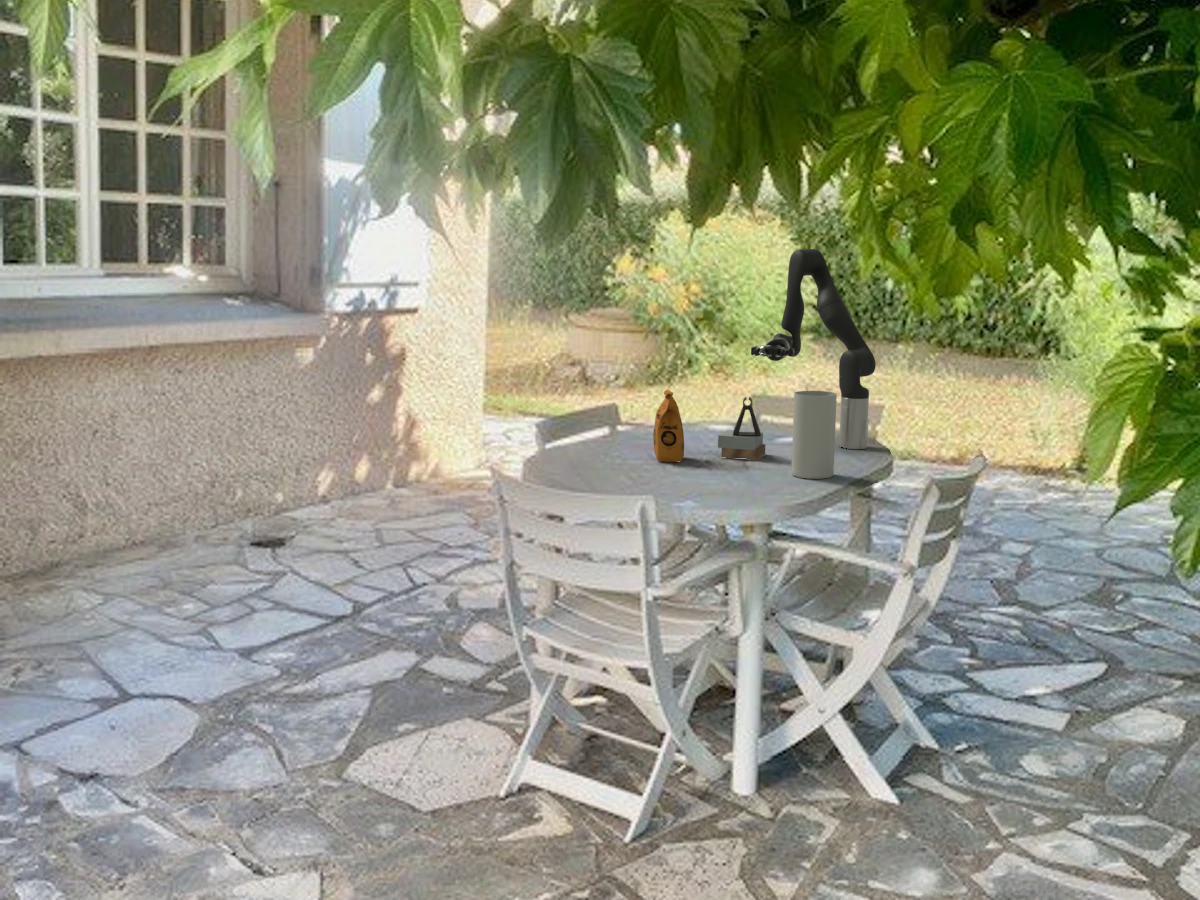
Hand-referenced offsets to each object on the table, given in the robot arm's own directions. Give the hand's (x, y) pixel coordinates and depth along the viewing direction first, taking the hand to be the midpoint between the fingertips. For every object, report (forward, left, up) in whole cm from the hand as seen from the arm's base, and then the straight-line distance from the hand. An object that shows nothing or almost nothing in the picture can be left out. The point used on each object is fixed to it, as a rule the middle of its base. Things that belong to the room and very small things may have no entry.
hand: (768, 353), depth 422 cm
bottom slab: (+4, +20, -33) cm, 38 cm away
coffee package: (+25, +34, -32) cm, 53 cm away
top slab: (+4, +20, -29) cm, 35 cm away
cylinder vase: (-23, +45, -32) cm, 60 cm away
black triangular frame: (+2, +21, -25) cm, 33 cm away
